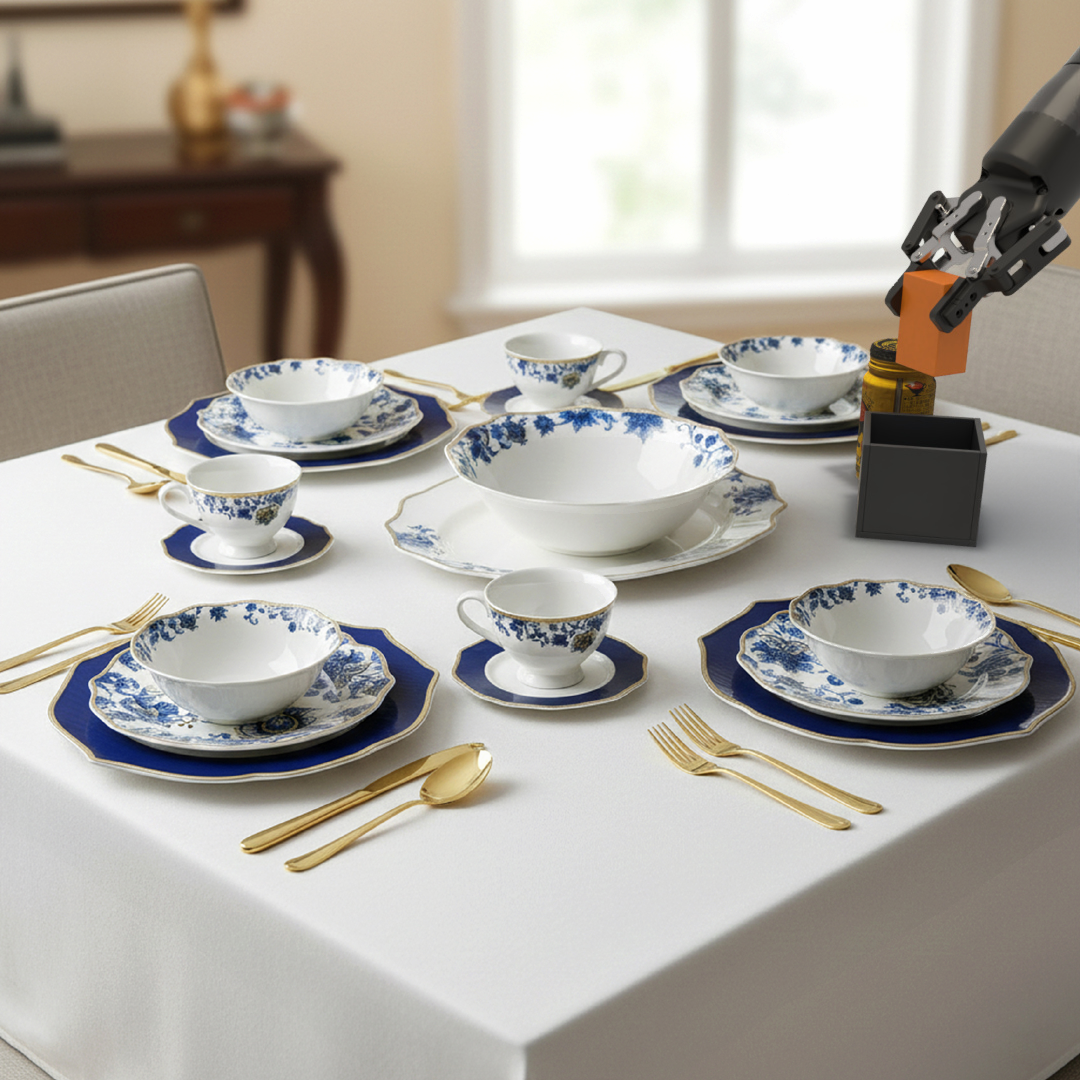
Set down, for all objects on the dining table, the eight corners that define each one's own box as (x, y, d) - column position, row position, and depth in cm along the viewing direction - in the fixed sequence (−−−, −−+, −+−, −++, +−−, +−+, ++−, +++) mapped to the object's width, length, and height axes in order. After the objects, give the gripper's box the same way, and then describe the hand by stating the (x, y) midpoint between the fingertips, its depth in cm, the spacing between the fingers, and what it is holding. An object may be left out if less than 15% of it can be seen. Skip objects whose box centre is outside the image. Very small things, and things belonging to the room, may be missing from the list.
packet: (926, 358, 114) (935, 268, 111) (965, 372, 110) (976, 280, 108) (895, 362, 113) (903, 272, 110) (934, 377, 109) (944, 284, 106)
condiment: (835, 472, 128) (845, 337, 123) (919, 462, 130) (932, 330, 126) (879, 499, 122) (892, 359, 117) (966, 488, 124) (983, 350, 120)
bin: (969, 509, 120) (980, 418, 117) (975, 550, 111) (987, 453, 108) (856, 500, 121) (865, 410, 118) (854, 540, 113) (863, 444, 110)
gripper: (971, 98, 113) (830, 267, 113) (1111, 117, 102) (954, 306, 101) (1015, 165, 118) (880, 328, 117) (1154, 190, 106) (1004, 372, 105)
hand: (915, 317), depth 109 cm, fingers closed on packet, 4 cm apart
